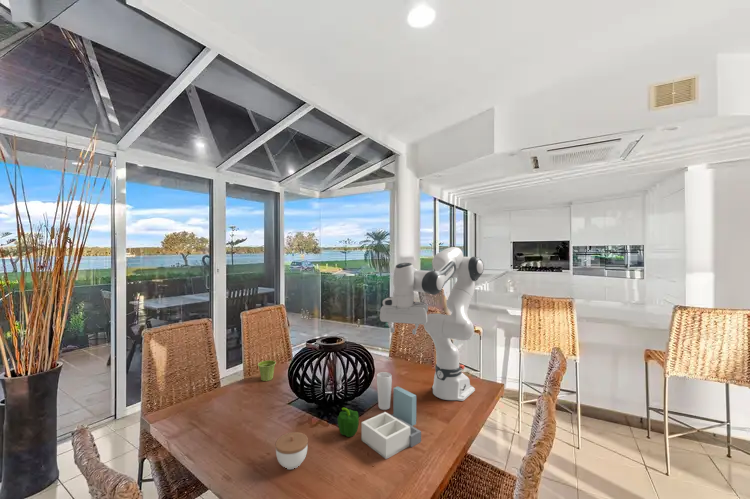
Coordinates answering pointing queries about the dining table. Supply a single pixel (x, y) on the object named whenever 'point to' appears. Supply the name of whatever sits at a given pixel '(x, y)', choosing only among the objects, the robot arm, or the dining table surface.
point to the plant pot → (266, 369)
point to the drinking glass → (384, 389)
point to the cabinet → (389, 434)
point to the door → (404, 405)
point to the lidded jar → (291, 449)
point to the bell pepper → (348, 422)
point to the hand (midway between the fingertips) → (403, 333)
